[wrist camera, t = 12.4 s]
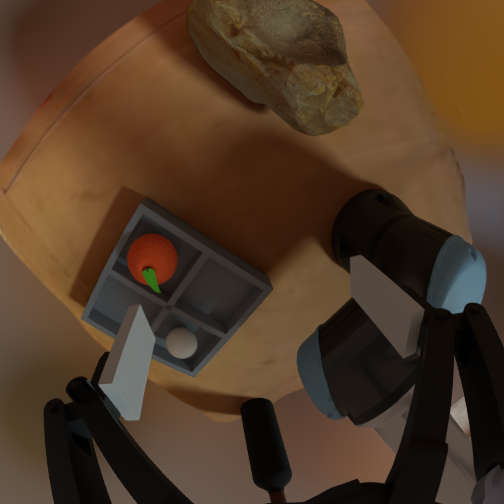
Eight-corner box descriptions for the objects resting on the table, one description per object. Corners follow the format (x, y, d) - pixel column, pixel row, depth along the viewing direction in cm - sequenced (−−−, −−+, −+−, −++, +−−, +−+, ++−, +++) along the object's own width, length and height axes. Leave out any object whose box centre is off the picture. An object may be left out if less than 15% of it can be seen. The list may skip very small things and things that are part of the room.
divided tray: (267, 276, 44) (273, 288, 41) (193, 362, 49) (193, 377, 45) (146, 196, 37) (140, 203, 33) (88, 305, 41) (80, 318, 38)
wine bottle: (269, 394, 56) (304, 515, 28) (275, 411, 59) (306, 520, 31) (236, 402, 55) (258, 525, 28) (244, 419, 58) (266, 529, 31)
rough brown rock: (359, 92, 36) (425, 72, 22) (284, 152, 37) (335, 147, 23) (263, -12, 28) (293, -67, 14) (175, 38, 29) (168, -21, 15)
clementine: (188, 271, 41) (184, 296, 34) (145, 282, 40) (135, 307, 34) (171, 221, 38) (164, 237, 31) (127, 234, 37) (112, 252, 31)
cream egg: (203, 330, 45) (203, 350, 40) (187, 348, 46) (186, 369, 42) (176, 315, 43) (174, 335, 39) (161, 335, 44) (158, 356, 40)
